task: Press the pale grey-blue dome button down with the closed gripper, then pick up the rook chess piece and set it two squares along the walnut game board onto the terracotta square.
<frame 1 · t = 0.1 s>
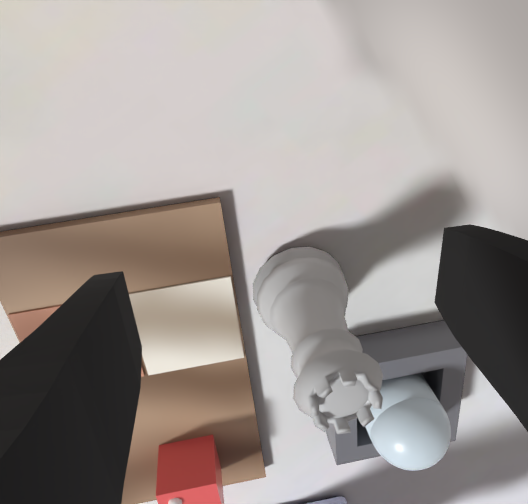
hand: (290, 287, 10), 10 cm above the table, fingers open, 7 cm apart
dome button: (406, 423, 24), point 3 cm above the table, slide at 0.0 cm
red die: (190, 448, 27), resting on game board
game board: (150, 374, 24), on the table
dome housing: (383, 379, 26), on the table
rook chess piece: (295, 280, 23), on the table
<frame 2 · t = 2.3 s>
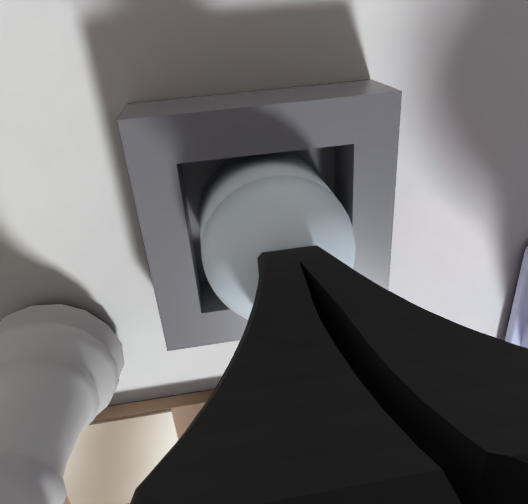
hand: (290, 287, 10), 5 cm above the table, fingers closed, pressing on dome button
dome button: (276, 245, 12), point 3 cm above the table, slide at 0.3 cm, touching gripper
game board: (204, 476, 20), on the table
dome housing: (261, 205, 15), on the table
rook chess piece: (61, 345, 16), on the table
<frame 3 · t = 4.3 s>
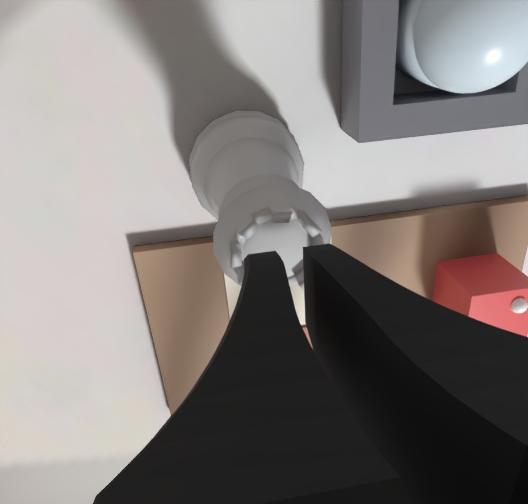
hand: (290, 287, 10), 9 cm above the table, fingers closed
dome button: (470, 27, 15), point 3 cm above the table, slide at 0.6 cm, touching dome housing
red die: (456, 277, 23), resting on game board
game board: (339, 311, 23), on the table
dome housing: (432, 24, 17), on the table
rook chess piece: (243, 162, 19), on the table
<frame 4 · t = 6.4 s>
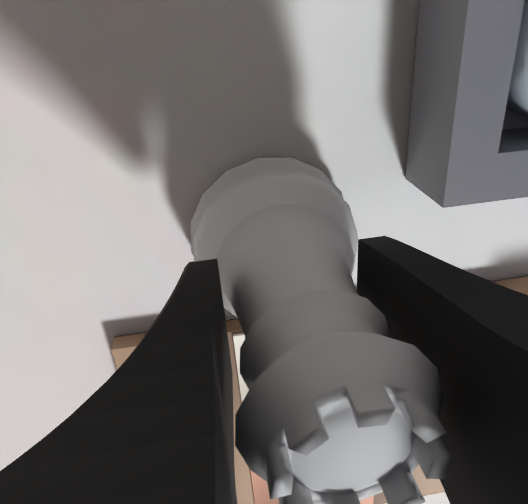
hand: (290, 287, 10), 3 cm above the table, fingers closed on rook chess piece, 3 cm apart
game board: (387, 406, 17), on the table
rook chess piece: (267, 225, 13), on the table, touching gripper
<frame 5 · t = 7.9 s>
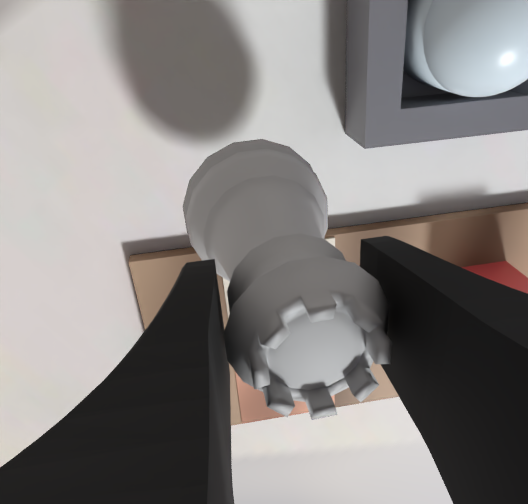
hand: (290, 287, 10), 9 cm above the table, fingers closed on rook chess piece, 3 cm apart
dome button: (482, 27, 14), point 3 cm above the table, slide at 0.6 cm, touching dome housing
red die: (463, 286, 22), resting on game board
game board: (342, 321, 22), on the table
dome housing: (441, 25, 16), on the table
rook chess piece: (250, 202, 15), point 3 cm above the table, touching gripper
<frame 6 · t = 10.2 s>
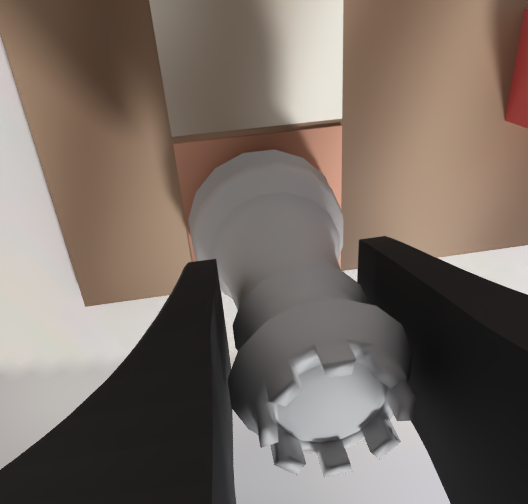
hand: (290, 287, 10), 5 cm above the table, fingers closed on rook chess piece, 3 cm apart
game board: (354, 115, 14), on the table
rook chess piece: (261, 214, 14), point 1 cm above the table, touching game board, gripper
when the fingers open (5 cm above the table, at t = 11.1 s): rook chess piece stays where it is, resting on game board.
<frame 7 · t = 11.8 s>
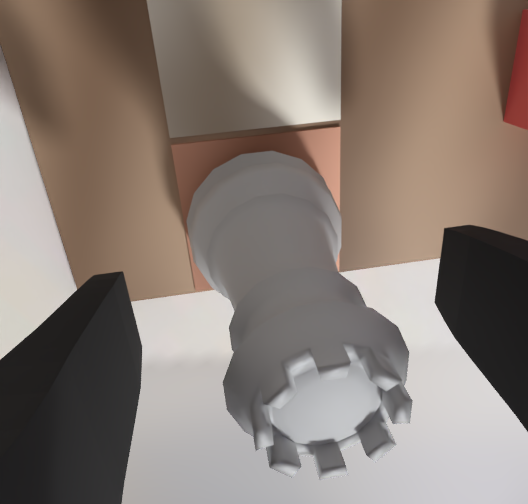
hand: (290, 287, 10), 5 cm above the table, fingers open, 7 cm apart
game board: (353, 116, 14), on the table
rook chess piece: (259, 215, 14), point 1 cm above the table, touching game board
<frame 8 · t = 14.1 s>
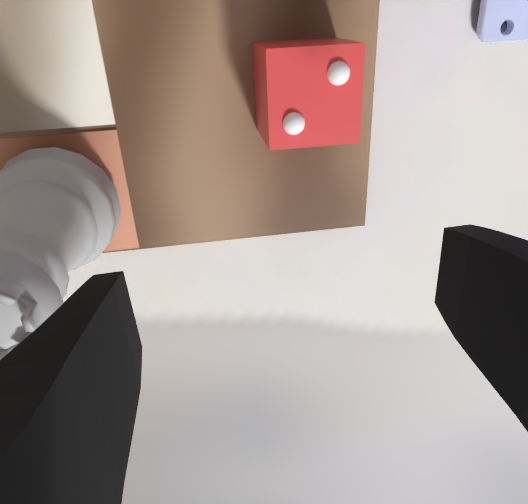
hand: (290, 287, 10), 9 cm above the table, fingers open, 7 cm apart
red die: (292, 82, 17), resting on game board
game board: (134, 121, 17), on the table
rook chess piece: (63, 199, 18), point 1 cm above the table, touching game board
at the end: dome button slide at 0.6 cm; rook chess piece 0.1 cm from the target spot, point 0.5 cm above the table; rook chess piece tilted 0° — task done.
